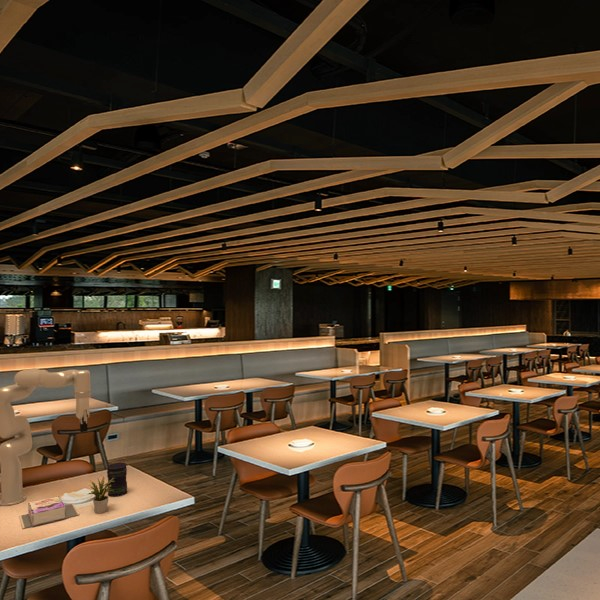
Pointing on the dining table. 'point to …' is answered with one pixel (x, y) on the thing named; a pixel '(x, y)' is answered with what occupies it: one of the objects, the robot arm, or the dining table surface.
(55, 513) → the candy box
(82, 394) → the robot arm
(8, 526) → the dining table surface
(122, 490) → the rusty oil drum
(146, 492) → the dining table surface
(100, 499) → the house plant
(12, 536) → the dining table surface
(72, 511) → the mat
